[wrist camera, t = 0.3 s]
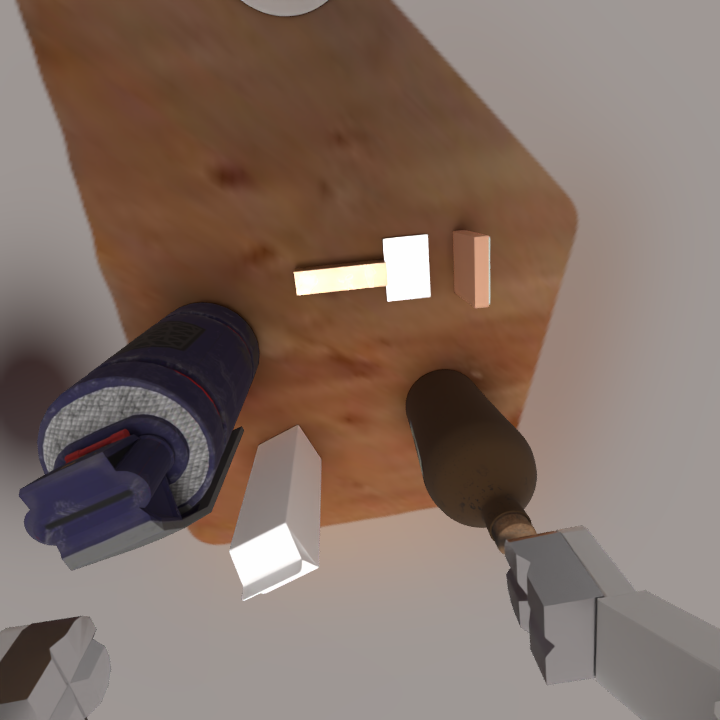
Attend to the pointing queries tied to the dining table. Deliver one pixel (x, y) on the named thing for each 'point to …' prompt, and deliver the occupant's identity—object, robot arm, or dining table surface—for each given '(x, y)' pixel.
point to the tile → (472, 267)
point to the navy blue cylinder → (143, 437)
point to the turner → (375, 271)
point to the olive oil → (471, 456)
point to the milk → (279, 515)
